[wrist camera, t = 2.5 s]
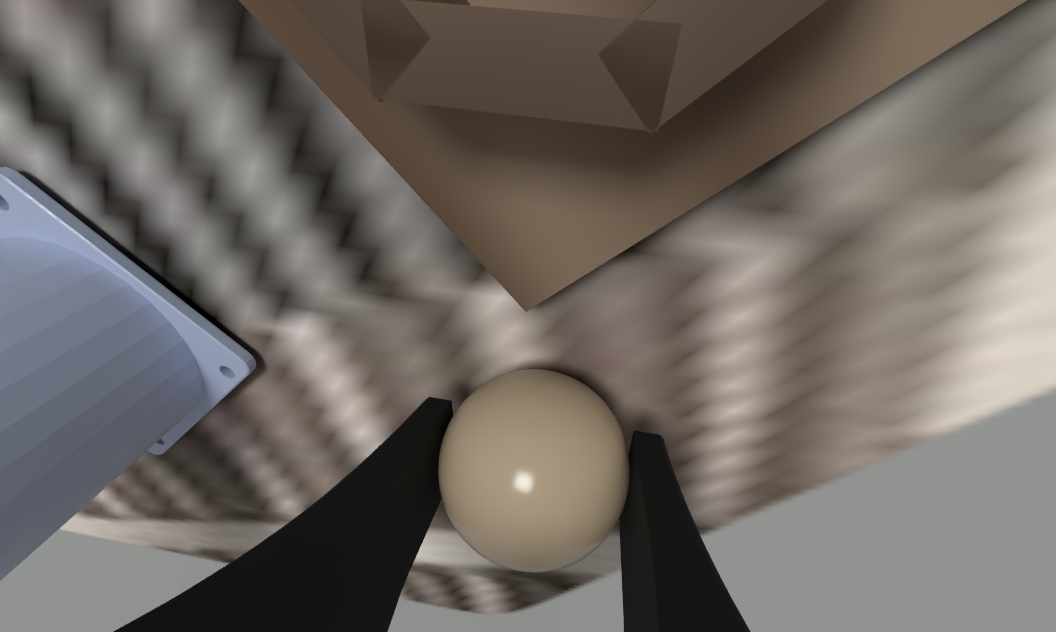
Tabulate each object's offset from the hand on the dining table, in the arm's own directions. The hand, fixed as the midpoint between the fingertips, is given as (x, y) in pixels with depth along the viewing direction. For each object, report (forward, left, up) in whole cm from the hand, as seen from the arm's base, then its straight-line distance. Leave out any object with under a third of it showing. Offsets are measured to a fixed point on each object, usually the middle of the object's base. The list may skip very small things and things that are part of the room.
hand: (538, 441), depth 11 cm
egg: (0, 0, +1) cm, 1 cm away
